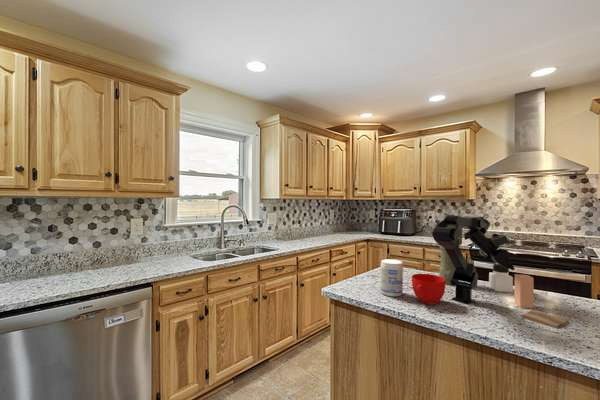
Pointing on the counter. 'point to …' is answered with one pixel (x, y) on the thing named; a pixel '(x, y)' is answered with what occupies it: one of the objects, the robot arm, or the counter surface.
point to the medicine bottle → (500, 279)
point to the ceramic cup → (428, 287)
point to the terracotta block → (524, 290)
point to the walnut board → (545, 318)
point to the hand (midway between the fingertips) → (508, 266)
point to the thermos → (446, 263)
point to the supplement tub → (391, 277)
